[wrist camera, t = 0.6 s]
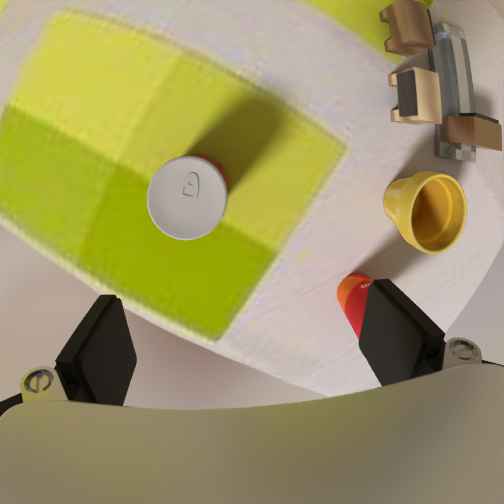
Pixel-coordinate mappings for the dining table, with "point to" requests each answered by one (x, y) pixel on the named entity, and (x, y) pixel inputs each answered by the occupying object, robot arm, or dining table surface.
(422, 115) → the tan notched block
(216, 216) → the canned food
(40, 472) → the robot arm
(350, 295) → the coffee cup
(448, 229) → the plant pot
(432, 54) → the rail
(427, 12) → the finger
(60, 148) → the dining table surface
